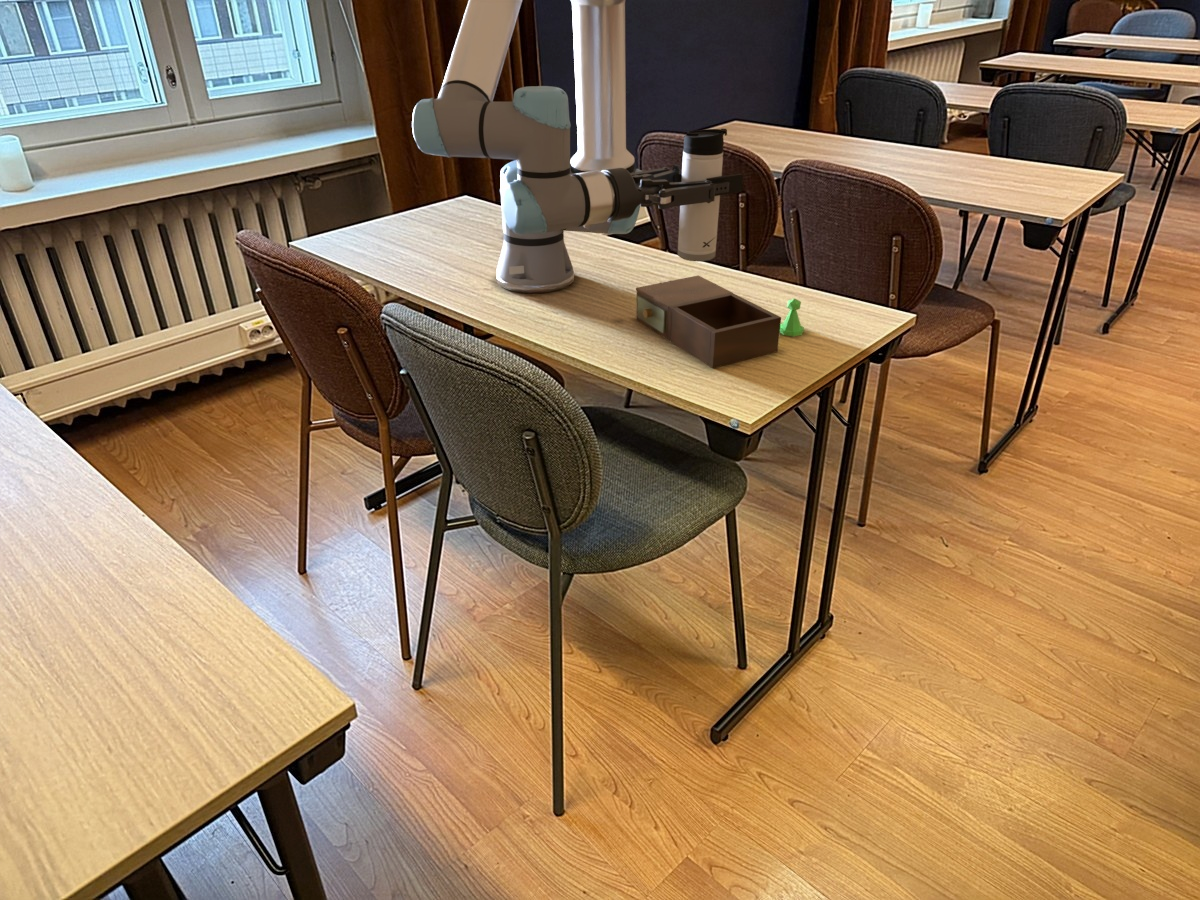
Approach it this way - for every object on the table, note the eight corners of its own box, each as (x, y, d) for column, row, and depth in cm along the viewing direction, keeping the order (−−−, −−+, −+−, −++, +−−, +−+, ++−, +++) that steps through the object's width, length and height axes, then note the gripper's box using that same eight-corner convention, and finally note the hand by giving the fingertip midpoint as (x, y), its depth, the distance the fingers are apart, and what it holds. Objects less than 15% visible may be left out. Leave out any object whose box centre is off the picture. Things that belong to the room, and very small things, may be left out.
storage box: (629, 321, 150) (629, 288, 147) (696, 306, 156) (698, 275, 153) (705, 370, 133) (708, 334, 130) (777, 351, 139) (781, 317, 136)
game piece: (808, 331, 146) (812, 298, 143) (794, 338, 144) (798, 304, 141) (787, 324, 149) (791, 292, 146) (773, 331, 146) (776, 298, 143)
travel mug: (715, 263, 138) (725, 133, 127) (675, 260, 139) (682, 131, 128) (718, 251, 143) (728, 126, 133) (679, 248, 144) (686, 124, 134)
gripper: (573, 206, 136) (691, 188, 146) (636, 237, 122) (763, 215, 132) (572, 158, 132) (694, 143, 142) (638, 184, 118) (768, 165, 128)
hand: (727, 178), depth 137 cm, fingers closed on travel mug, 6 cm apart
